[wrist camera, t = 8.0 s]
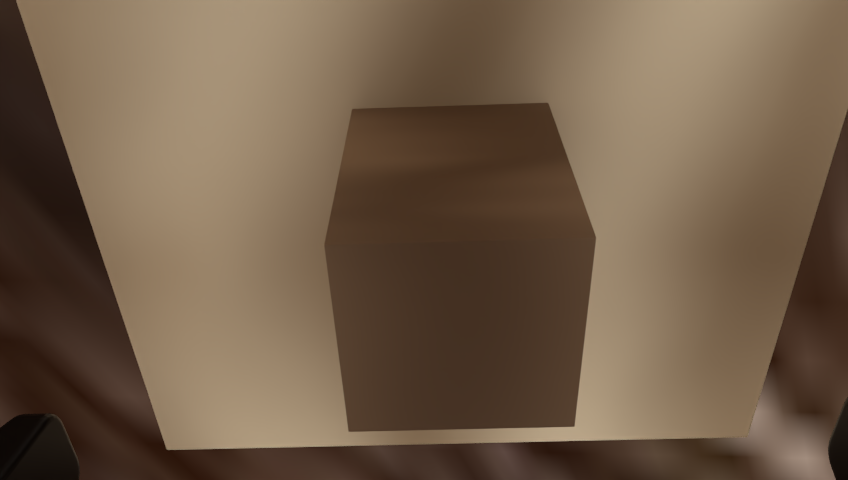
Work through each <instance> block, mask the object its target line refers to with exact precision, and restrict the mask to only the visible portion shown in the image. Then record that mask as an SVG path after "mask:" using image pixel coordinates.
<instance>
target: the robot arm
mask: <svg viewBox="0 0 848 480" xmlns="http://www.w3.org/2000/svg"><path fill="white" fill-rule="evenodd" d="M828 454H829V460H830V464H831V467H832V470H833V472H834V475H835V478H836V480H848V398H847V399H846V401H845V402H844V405H843V407H842V410H841V412H840V415H839V418H838V420H837V423H836V425H835V428H834V430H833V433H832V435H831V438H830V441H829V447H828ZM79 473H80V472H79V462H78V458H77V456H76V453H75V451H74V449H73V447H72V444H71V442H70V440H69V437H68V435H67V433H66V430H65V428H64V426H63V424H62V422H61V420H60V418H58V417H57V416H56V415H55V414H50V413H49V414H22V415H18V416H16V417H14V418H13V419H11V420H10V421H9V422H7V423H6V424H5V425H3V426H2V427H1V428H0V480H79Z"/></svg>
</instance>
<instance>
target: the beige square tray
mask: <svg viewBox="0 0 848 480" xmlns="http://www.w3.org/2000/svg"><path fill="white" fill-rule="evenodd" d="M16 2H17V5H18V7H19V10H20V13H21V16H22V19H23V22H24V25H25V28H26V31H27V34H28V37H29V40H30V43H31V46H32V49H33V52H34V55H35V58H36V61H37V64H38V67H39V70H40V73H41V76H42V79H43V82H44V85H45V88H46V91H47V94H48V97H49V100H50V103H51V106H52V109H53V112H54V115H55V118H56V121H57V124H58V127H59V130H60V133H61V136H62V139H63V142H64V144H65V147H66V150H67V153H68V156H69V159H70V162H71V165H72V168H73V171H74V174H75V177H76V180H77V183H78V186H79V189H80V192H81V195H82V198H83V201H84V204H85V207H86V210H87V213H88V216H89V219H90V222H91V225H92V228H93V231H94V234H95V237H96V240H97V243H98V246H99V249H100V252H101V255H102V258H103V261H104V264H105V267H106V270H107V273H108V276H109V279H110V282H111V284H112V287H113V290H114V293H115V296H116V299H117V302H118V305H119V308H120V311H121V314H122V317H123V320H124V323H125V326H126V329H127V332H128V335H129V338H130V341H131V344H132V347H133V350H134V353H135V356H136V359H137V362H138V365H139V368H140V371H141V374H142V377H143V380H144V383H145V386H146V389H147V392H148V395H149V398H150V401H151V404H152V407H153V410H154V413H155V416H156V419H157V422H158V424H159V427H160V430H161V433H162V436H163V439H164V442H165V445H166V448H167V450H186V449H231V448H275V447H320V446H365V445H410V444H455V443H500V442H545V441H590V440H634V439H679V438H724V437H747V436H748V433H749V429H750V426H751V423H752V420H753V416H754V413H755V410H756V407H757V403H758V400H759V397H760V394H761V390H762V387H763V384H764V380H765V377H766V374H767V371H768V367H769V364H770V361H771V358H772V354H773V351H774V348H775V345H776V341H777V338H778V335H779V331H780V328H781V325H782V322H783V318H784V315H785V312H786V309H787V305H788V302H789V299H790V296H791V292H792V289H793V286H794V282H795V279H796V276H797V273H798V269H799V266H800V263H801V260H802V256H803V253H804V250H805V247H806V243H807V240H808V237H809V233H810V230H811V227H812V224H813V220H814V217H815V214H816V211H817V207H818V204H819V201H820V198H821V194H822V191H823V188H824V184H825V181H826V178H827V175H828V171H829V168H830V165H831V162H832V158H833V155H834V152H835V149H836V145H837V142H838V139H839V135H840V132H841V129H842V126H843V122H844V119H845V116H846V113H847V109H848V0H16Z"/></svg>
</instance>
